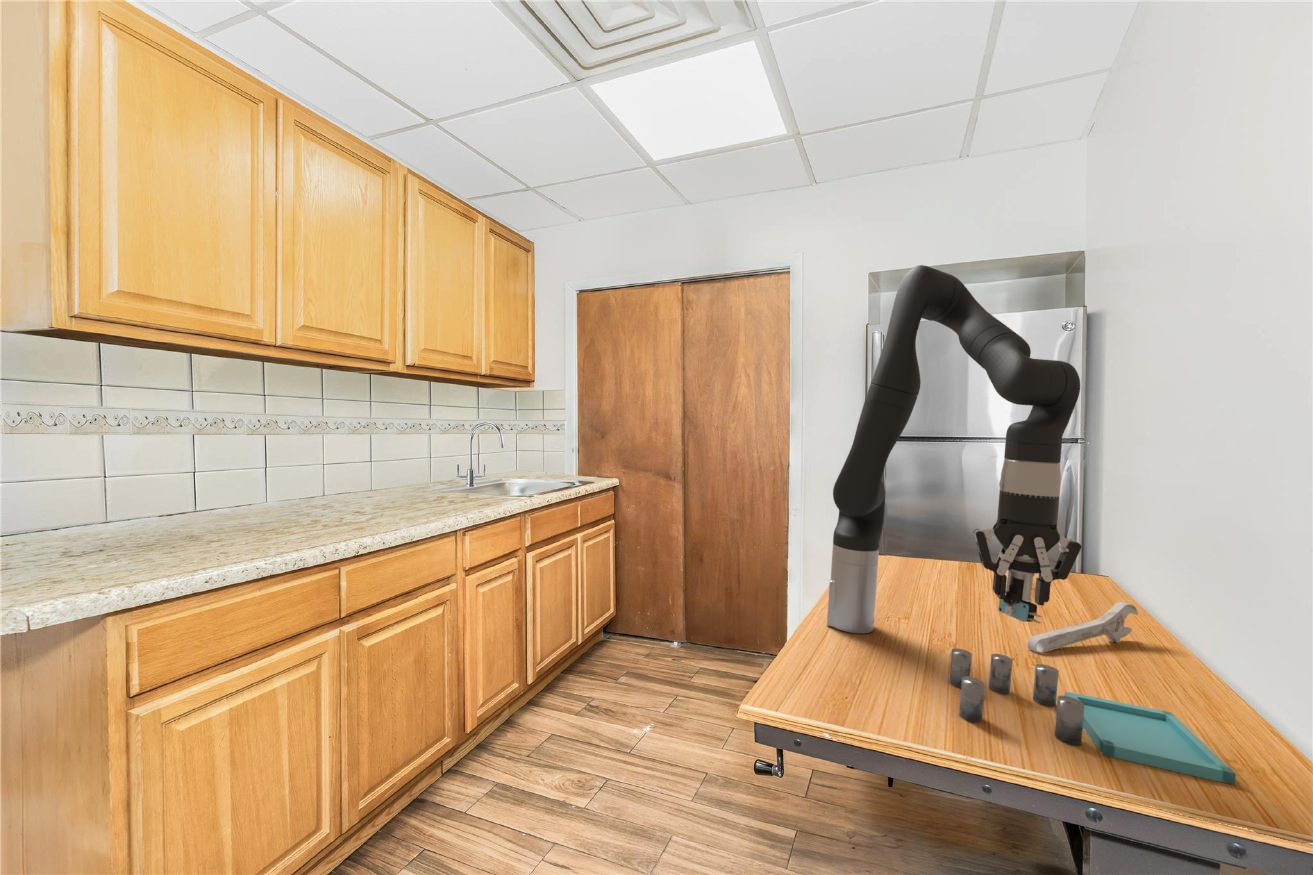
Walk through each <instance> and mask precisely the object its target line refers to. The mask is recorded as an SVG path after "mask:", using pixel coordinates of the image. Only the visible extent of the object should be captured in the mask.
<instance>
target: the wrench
mask: <svg viewBox="0 0 1313 875" xmlns="http://www.w3.org/2000/svg"><path fill="white" fill-rule="evenodd" d="M1130 614H1132V615H1136V616H1138V615H1139V611H1138V609H1137V608H1136V606H1135V605H1133V604H1131V603H1128V602H1124V601H1118V602H1116V603H1115V604H1114V605H1112V606H1111V608H1109V610H1107V611H1106V612H1105V613H1103V614H1102V615H1101V616H1099V617H1098V618H1097V619H1094V620H1090V621H1087V622H1082V623H1078V624H1074V625H1071V626H1066V627H1062V628H1059V629H1055V630H1052V631H1047V632H1043V633H1039V634H1036V635H1032V636H1030V638H1028V641H1027V648H1028V650H1030V651H1032V652H1035V653H1036V654H1041V653H1047V652H1051V651H1053V650H1056V649H1060V648H1061V649H1062V648H1063V647H1068V646H1070V645H1075V644H1078V643H1081V642H1084V641H1087V640H1090V639H1094V638H1097V637H1101V636H1106V637H1107V638H1108V642H1109V643H1110V642H1111V643H1117V644H1119V643H1120V641H1121V639H1123V638H1125V637H1127V636H1128V635H1129V634H1130V633H1131V632H1132V631H1133V629H1132V627H1129V626H1126V625H1124V624H1125V621H1126V619H1127V617H1128V616H1129V615H1130Z"/></svg>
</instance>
